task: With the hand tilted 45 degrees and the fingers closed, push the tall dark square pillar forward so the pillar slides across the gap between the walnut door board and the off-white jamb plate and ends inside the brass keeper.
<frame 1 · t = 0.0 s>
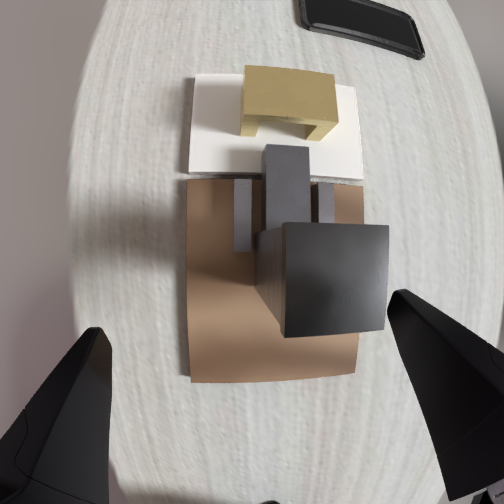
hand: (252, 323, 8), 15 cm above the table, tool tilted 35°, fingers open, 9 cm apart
dark square pillar: (301, 213, 16), point 7 cm above the table, slide at 0.0 cm
jamb plate: (277, 125, 23), on the table
phone: (361, 23, 24), on the table
guide rails: (278, 218, 23), resting on door leaf
door leaf: (277, 284, 23), on the table
keeper: (278, 120, 23), resting on jamb plate
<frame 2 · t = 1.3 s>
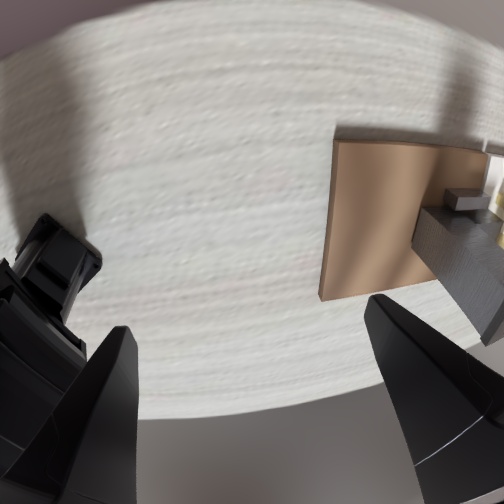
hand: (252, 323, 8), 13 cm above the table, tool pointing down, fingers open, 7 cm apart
dark square pillar: (492, 260, 18), point 7 cm above the table, slide at 0.0 cm
jamb plate: (491, 214, 24), on the table
guide rails: (447, 217, 24), resting on door leaf
door leaf: (408, 220, 23), on the table
keeper: (493, 214, 25), resting on jamb plate
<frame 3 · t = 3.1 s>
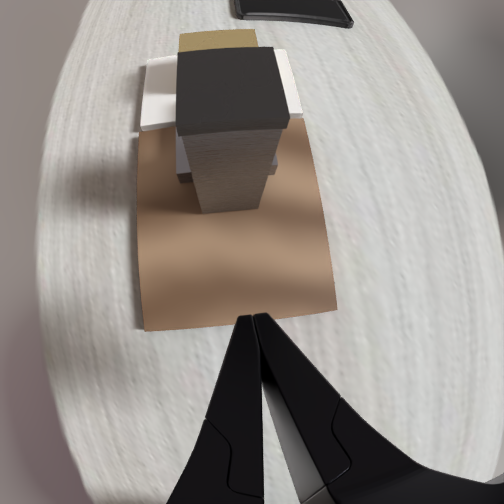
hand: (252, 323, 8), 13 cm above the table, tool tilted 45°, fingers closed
dark square pillar: (224, 107, 16), point 7 cm above the table, slide at 0.0 cm
jamb plate: (218, 86, 25), on the table
phone: (292, 10, 29), on the table
guide rails: (224, 156, 23), resting on door leaf
door leaf: (229, 215, 23), on the table
keeper: (218, 82, 25), resting on jamb plate
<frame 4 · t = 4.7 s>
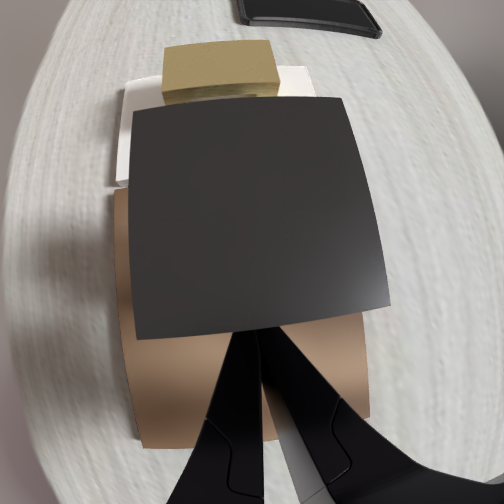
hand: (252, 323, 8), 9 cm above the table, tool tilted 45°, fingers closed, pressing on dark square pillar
dark square pillar: (232, 178, 11), point 7 cm above the table, slide at 0.0 cm, touching gripper
jamb plate: (220, 118, 19), on the table
phone: (308, 14, 23), on the table
door leaf: (240, 310, 17), on the table
keeper: (220, 113, 19), resting on jamb plate
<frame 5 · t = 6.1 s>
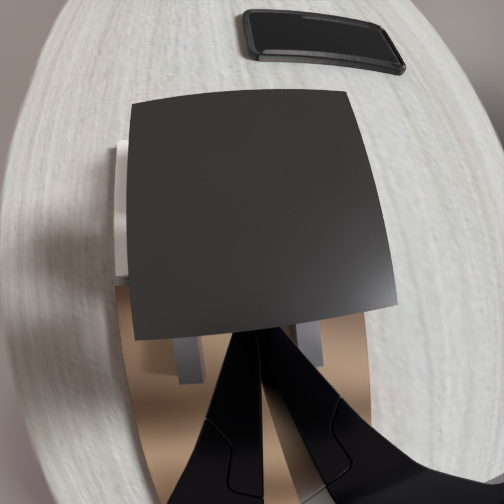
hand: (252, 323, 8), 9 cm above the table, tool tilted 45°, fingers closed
dark square pillar: (232, 175, 11), point 7 cm above the table, slide at 6.1 cm, touching gripper
jamb plate: (228, 194, 18), on the table
phone: (324, 43, 22), on the table
guide rails: (243, 324, 17), resting on door leaf
door leaf: (253, 408, 16), on the table
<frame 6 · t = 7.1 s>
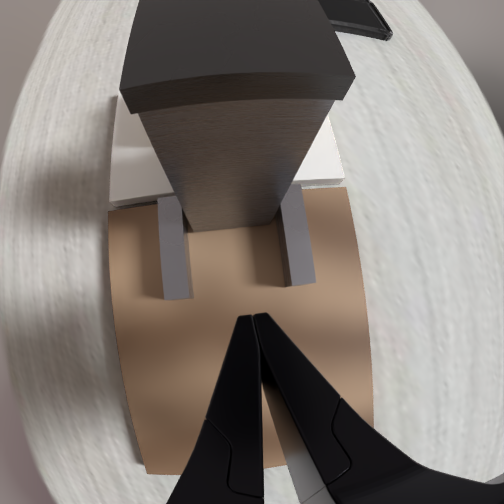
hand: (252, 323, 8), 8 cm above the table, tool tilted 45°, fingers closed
dark square pillar: (222, 81, 11), point 7 cm above the table, slide at 6.1 cm
jamb plate: (221, 129, 18), on the table
phone: (314, 12, 22), on the table
guide rails: (234, 249, 17), resting on door leaf
door leaf: (244, 341, 16), on the table
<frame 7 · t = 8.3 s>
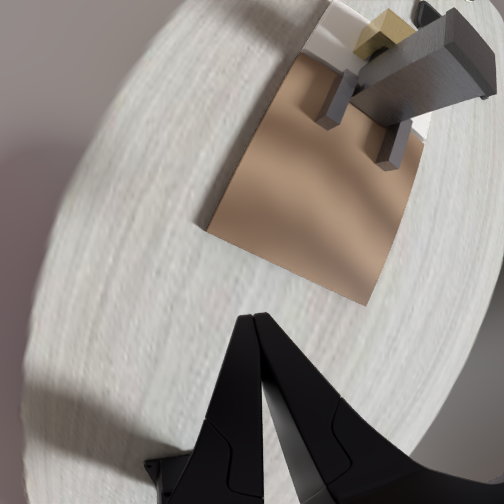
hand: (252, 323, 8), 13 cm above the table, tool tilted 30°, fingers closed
dark square pillar: (422, 51, 15), point 7 cm above the table, slide at 6.1 cm
jamb plate: (377, 67, 22), on the table
phone: (452, 50, 26), on the table
guide rails: (355, 126, 22), resting on door leaf
door leaf: (333, 177, 22), on the table
keeper: (378, 64, 22), resting on jamb plate
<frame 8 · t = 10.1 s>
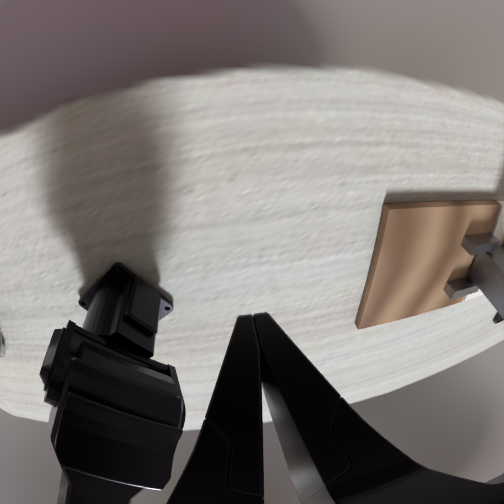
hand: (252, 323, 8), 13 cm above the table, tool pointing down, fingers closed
jamb plate: (497, 248, 28), on the table
guide rails: (462, 256, 27), resting on door leaf
door leaf: (431, 261, 27), on the table
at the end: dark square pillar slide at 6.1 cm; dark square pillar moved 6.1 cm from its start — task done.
